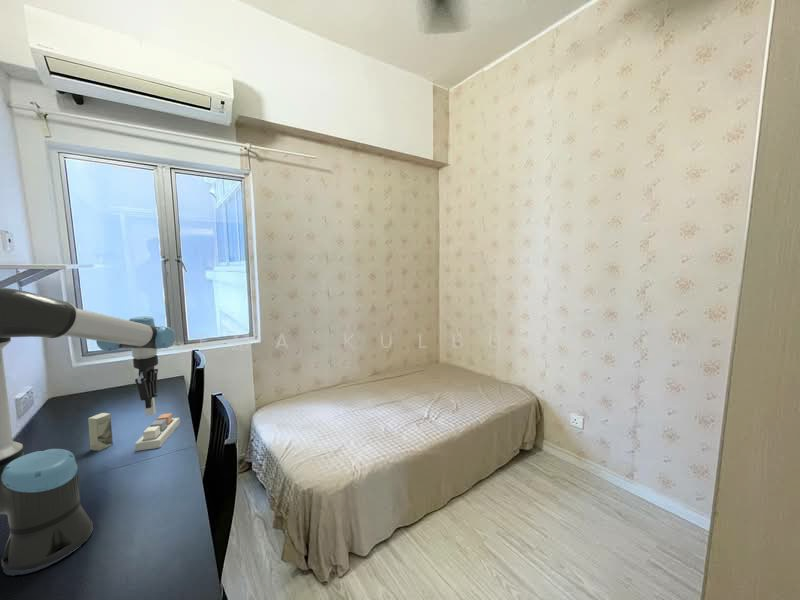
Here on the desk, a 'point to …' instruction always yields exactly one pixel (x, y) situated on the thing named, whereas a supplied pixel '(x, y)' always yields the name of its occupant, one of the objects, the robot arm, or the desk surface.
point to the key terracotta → (165, 417)
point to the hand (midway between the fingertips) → (150, 414)
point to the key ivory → (151, 432)
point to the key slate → (159, 424)
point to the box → (100, 431)
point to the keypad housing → (161, 438)
